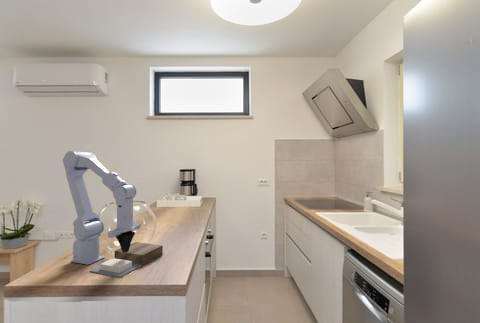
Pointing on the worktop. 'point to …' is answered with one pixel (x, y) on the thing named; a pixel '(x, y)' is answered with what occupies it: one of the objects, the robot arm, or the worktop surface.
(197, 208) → the worktop surface
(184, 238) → the worktop surface
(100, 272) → the mat
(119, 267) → the light grey flat block
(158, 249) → the brown flat wooden block
